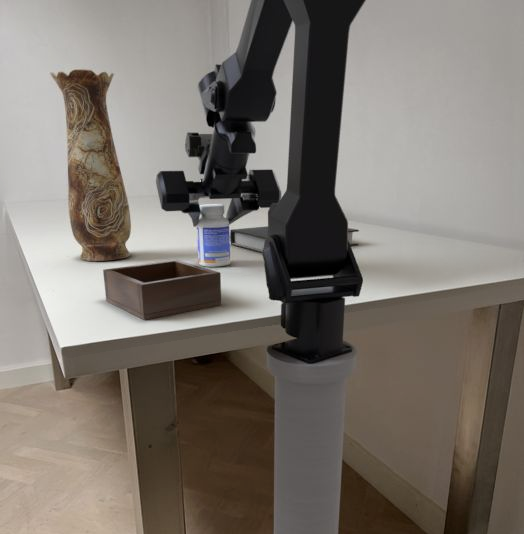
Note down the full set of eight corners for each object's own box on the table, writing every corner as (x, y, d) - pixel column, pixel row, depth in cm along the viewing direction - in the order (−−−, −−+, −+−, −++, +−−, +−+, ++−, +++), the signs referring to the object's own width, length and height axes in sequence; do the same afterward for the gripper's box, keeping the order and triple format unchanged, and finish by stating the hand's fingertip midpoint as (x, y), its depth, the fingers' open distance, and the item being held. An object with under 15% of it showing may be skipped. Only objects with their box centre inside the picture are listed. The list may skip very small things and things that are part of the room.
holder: (221, 304, 69) (220, 272, 68) (144, 320, 63) (141, 284, 61) (178, 289, 77) (176, 259, 75) (106, 301, 71) (102, 269, 69)
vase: (112, 264, 93) (93, 66, 83) (60, 260, 97) (35, 69, 87) (144, 253, 103) (130, 74, 93) (95, 250, 106) (77, 77, 96)
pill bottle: (237, 264, 94) (236, 204, 90) (213, 268, 90) (211, 207, 86) (215, 259, 97) (213, 202, 94) (191, 264, 93) (188, 204, 90)
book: (313, 235, 124) (313, 222, 123) (358, 244, 112) (359, 229, 111) (229, 244, 113) (229, 229, 112) (270, 255, 101) (270, 238, 100)
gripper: (275, 114, 85) (252, 185, 99) (153, 111, 79) (146, 187, 92) (294, 169, 81) (267, 235, 94) (167, 171, 75) (158, 241, 88)
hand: (210, 223), depth 92 cm, fingers closed on pill bottle, 5 cm apart
